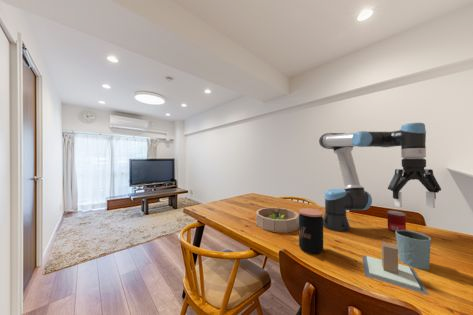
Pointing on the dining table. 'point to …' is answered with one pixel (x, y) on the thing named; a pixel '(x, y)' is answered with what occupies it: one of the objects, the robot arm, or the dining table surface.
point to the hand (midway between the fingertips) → (414, 206)
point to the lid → (391, 267)
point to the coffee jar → (311, 231)
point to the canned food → (396, 221)
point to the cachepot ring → (277, 220)
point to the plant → (277, 215)
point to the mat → (394, 282)
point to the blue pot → (413, 248)
